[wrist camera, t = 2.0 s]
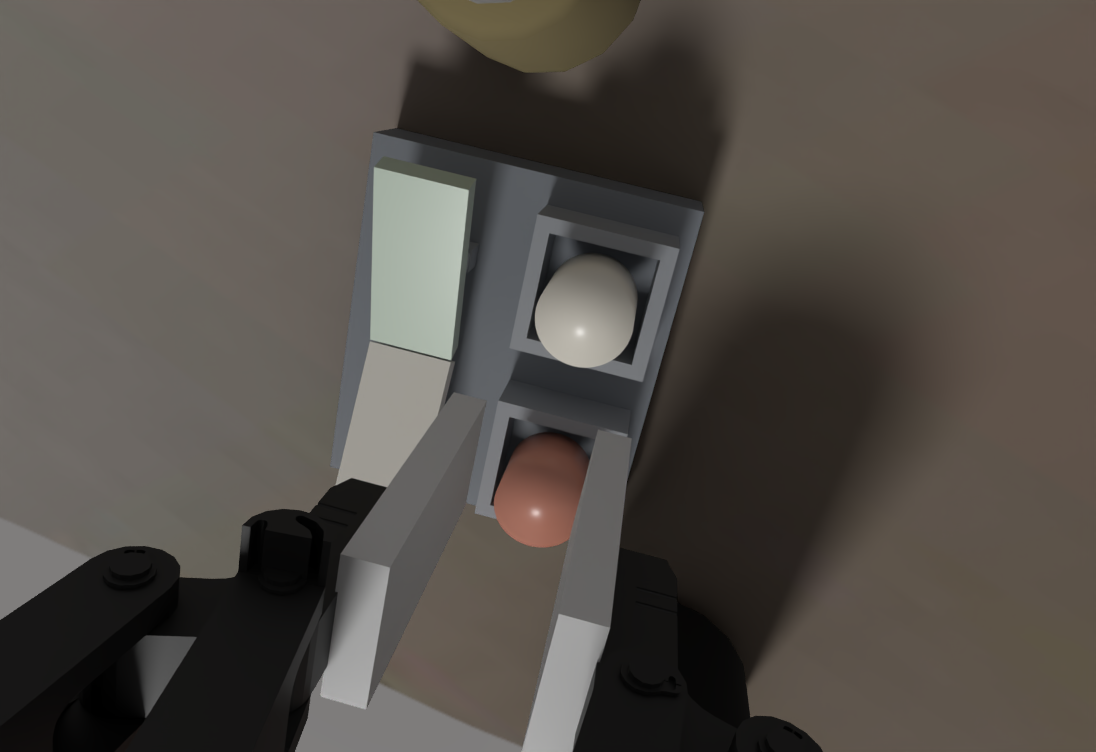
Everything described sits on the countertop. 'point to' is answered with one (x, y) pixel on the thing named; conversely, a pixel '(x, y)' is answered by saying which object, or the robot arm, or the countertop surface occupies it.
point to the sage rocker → (419, 255)
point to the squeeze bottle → (536, 29)
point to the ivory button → (587, 310)
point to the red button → (541, 489)
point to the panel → (536, 298)
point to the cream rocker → (392, 411)
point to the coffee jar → (711, 668)
